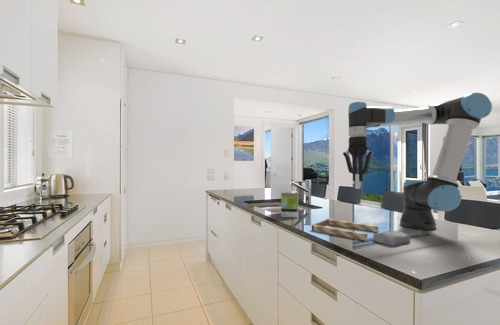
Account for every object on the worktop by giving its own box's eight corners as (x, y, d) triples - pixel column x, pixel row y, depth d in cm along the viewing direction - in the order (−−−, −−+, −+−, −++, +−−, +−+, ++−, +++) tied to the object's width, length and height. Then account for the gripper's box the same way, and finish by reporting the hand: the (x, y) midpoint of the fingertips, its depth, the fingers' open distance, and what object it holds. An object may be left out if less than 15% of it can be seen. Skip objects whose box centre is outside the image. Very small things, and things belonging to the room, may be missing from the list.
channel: (378, 231, 115) (378, 226, 115) (366, 240, 102) (366, 234, 102) (328, 223, 132) (327, 218, 132) (311, 230, 118) (311, 225, 118)
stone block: (371, 244, 103) (394, 246, 94) (369, 232, 104) (391, 233, 95) (390, 241, 108) (413, 243, 99) (388, 230, 109) (411, 231, 100)
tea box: (297, 218, 146) (297, 192, 146) (280, 217, 148) (280, 192, 148) (298, 213, 161) (298, 190, 161) (282, 212, 163) (282, 190, 163)
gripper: (340, 137, 115) (340, 188, 114) (370, 134, 106) (371, 190, 106) (346, 138, 120) (346, 187, 120) (375, 136, 112) (376, 188, 111)
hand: (358, 188), depth 113 cm, fingers closed
